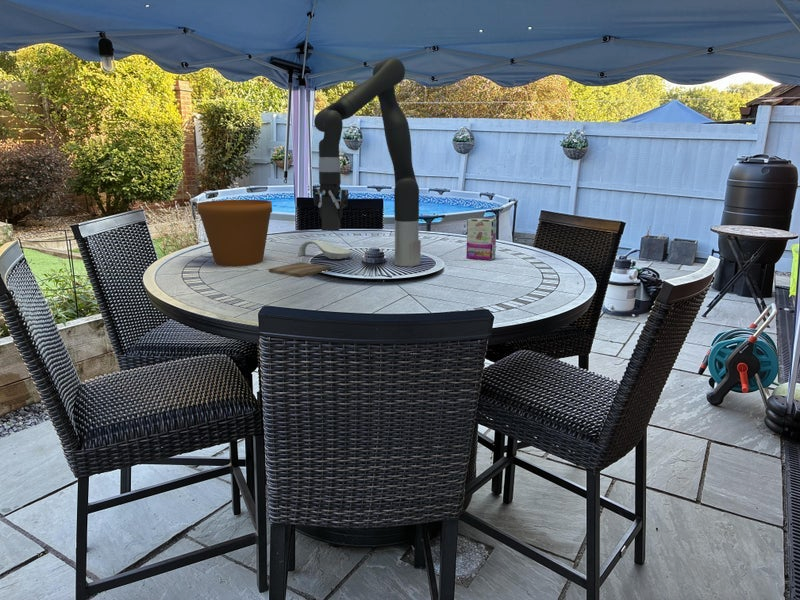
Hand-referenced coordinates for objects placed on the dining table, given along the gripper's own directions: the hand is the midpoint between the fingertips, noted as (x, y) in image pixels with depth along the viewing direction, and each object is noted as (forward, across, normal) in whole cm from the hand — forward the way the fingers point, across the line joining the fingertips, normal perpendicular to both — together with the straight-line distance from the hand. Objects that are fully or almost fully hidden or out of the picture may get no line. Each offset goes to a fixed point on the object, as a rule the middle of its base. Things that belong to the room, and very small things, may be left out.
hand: (330, 218), depth 205 cm
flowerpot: (+20, +45, 0) cm, 49 cm away
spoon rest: (+20, +21, -24) cm, 38 cm away
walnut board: (+20, +12, +3) cm, 23 cm away
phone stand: (+4, 0, 0) cm, 4 cm away
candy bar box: (+20, -38, -52) cm, 67 cm away
